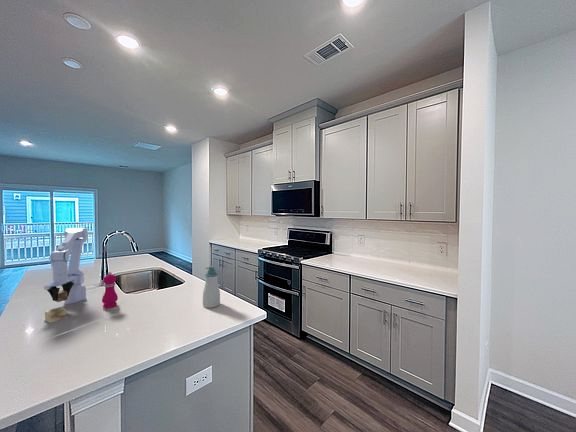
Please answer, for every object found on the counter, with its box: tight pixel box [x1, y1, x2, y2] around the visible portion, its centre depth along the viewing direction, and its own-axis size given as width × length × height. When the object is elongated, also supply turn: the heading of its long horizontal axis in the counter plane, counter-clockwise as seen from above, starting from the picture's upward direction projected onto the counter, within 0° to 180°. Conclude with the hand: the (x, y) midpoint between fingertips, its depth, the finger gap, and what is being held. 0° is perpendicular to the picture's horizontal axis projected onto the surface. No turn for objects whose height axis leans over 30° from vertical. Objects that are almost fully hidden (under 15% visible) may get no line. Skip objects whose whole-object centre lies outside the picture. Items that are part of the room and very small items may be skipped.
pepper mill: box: [101, 271, 119, 309], centre depth 138 cm, size 7×7×20 cm
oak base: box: [44, 306, 67, 323], centre depth 123 cm, size 6×6×4 cm
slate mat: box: [43, 315, 68, 323], centre depth 127 cm, size 12×14×1 cm
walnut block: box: [55, 289, 67, 303], centre depth 130 cm, size 4×4×4 cm
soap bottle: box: [202, 265, 221, 309], centre depth 143 cm, size 10×10×23 cm
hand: (60, 298), depth 131 cm, fingers closed on walnut block, 5 cm apart
